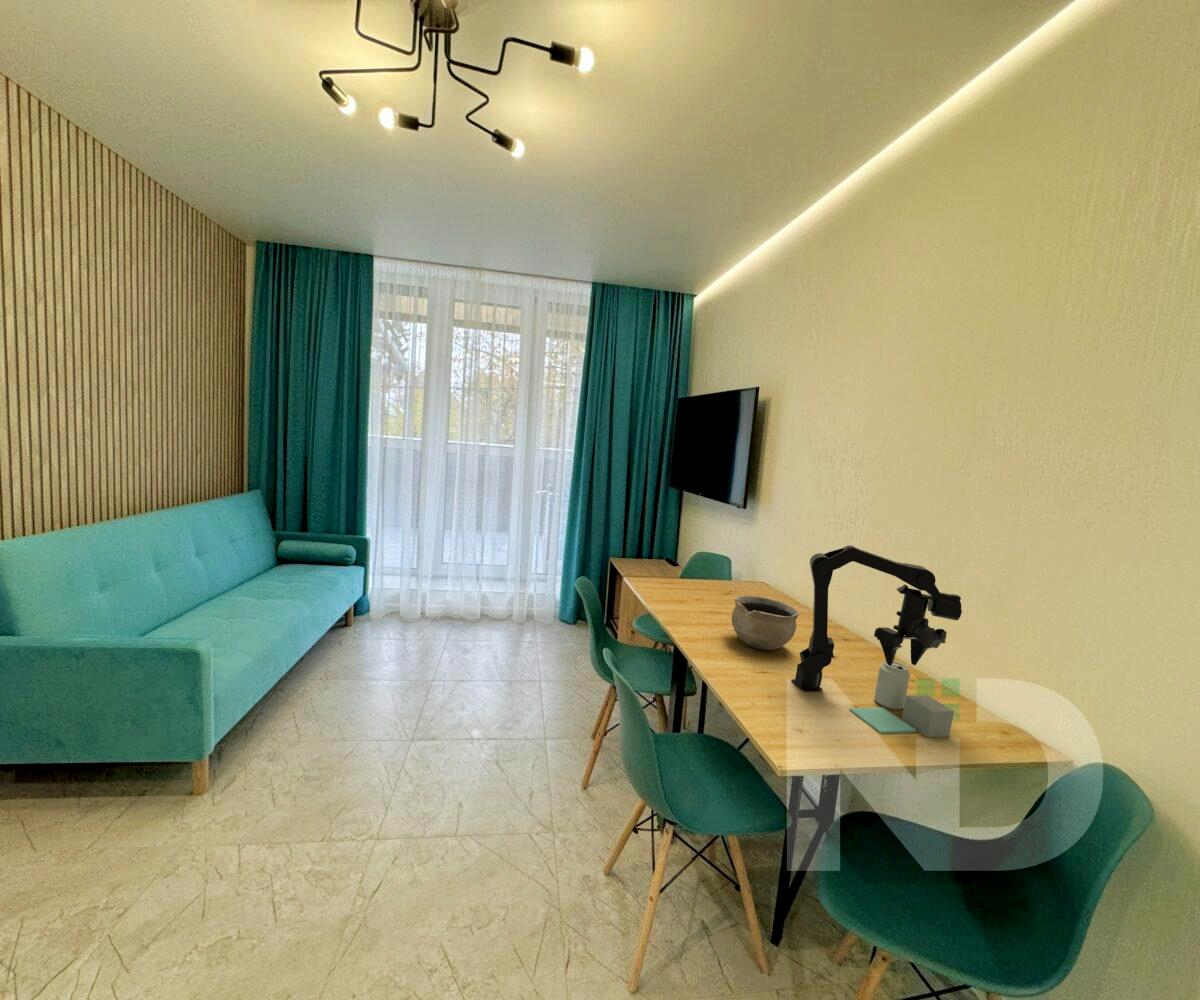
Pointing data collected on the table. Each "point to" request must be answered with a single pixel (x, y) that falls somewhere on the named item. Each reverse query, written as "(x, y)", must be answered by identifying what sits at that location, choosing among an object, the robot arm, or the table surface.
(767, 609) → the ceramic bowl
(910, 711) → the unit
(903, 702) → the can
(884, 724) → the mat
